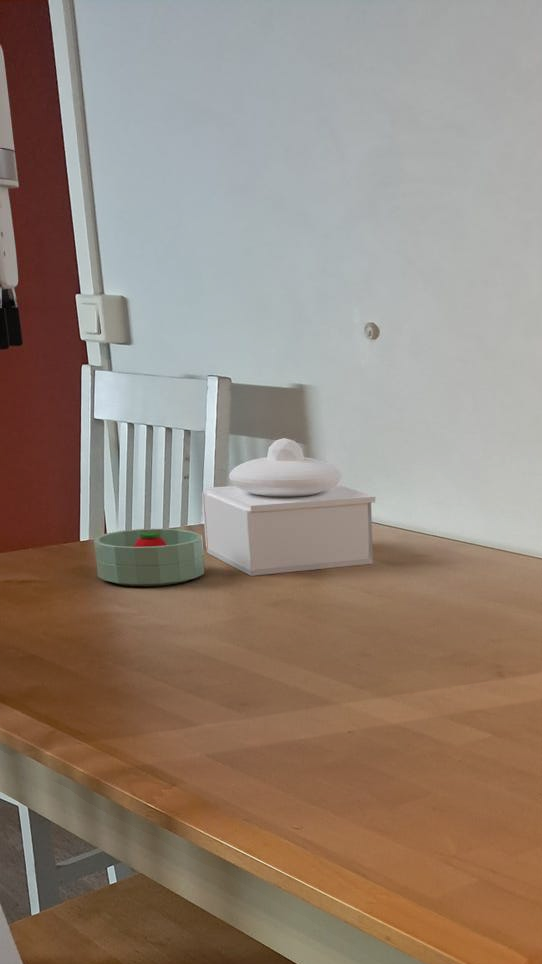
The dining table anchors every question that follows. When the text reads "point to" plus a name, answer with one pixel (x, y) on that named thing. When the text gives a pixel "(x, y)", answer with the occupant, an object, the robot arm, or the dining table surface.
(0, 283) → the robot arm
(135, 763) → the dining table surface
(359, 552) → the white lidded box
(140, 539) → the strawberry
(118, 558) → the dessert bowl
